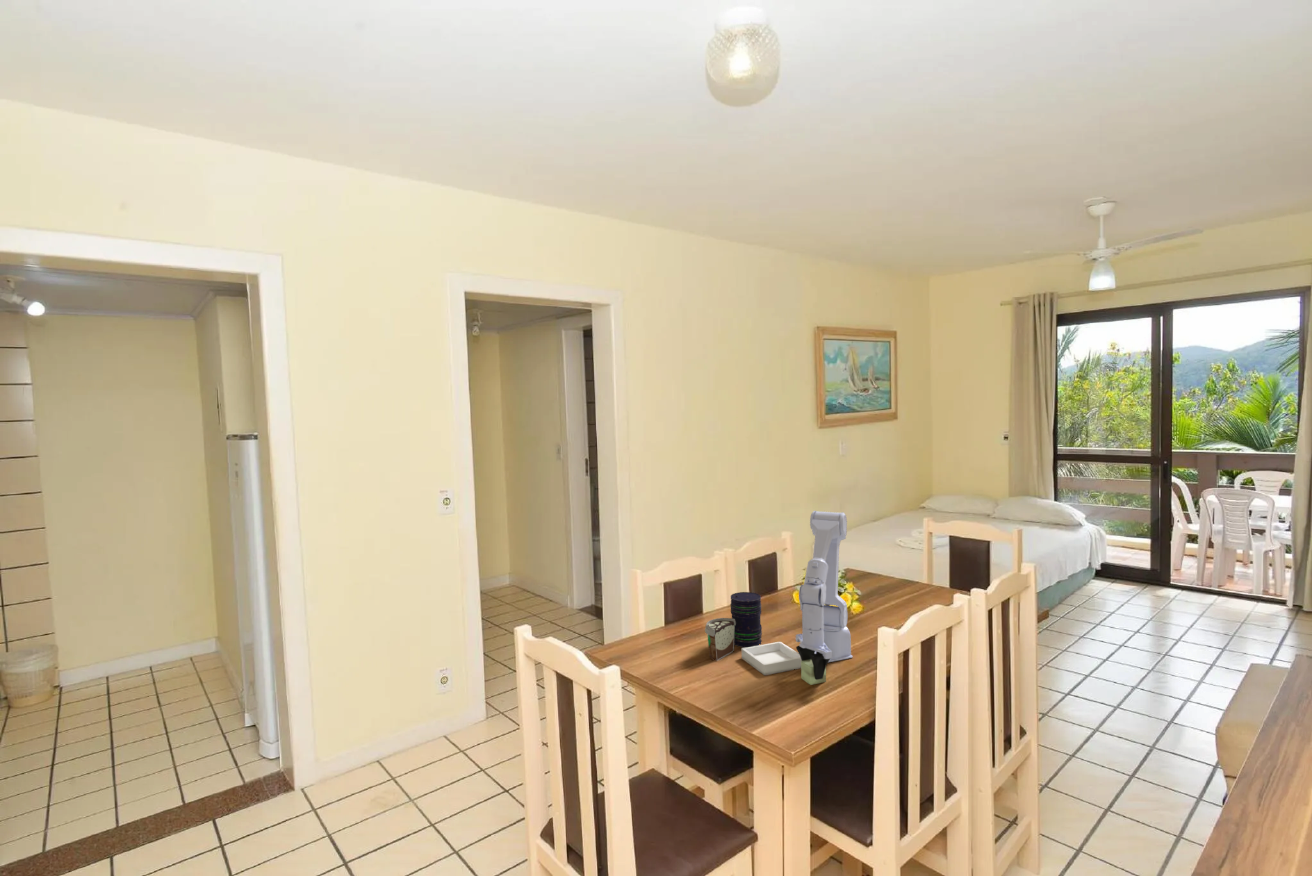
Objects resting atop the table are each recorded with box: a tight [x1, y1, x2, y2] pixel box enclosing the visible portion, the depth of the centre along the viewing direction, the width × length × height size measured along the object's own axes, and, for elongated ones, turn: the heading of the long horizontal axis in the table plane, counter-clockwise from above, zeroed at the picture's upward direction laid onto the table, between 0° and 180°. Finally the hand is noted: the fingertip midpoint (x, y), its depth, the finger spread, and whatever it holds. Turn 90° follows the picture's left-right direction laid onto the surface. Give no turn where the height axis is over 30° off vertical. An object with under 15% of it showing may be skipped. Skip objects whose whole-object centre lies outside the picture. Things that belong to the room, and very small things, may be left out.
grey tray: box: [741, 641, 802, 676], centre depth 193 cm, size 14×14×3 cm
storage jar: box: [730, 591, 763, 648], centre depth 209 cm, size 10×10×15 cm
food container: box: [704, 617, 736, 662], centre depth 200 cm, size 12×6×10 cm, turn 141°
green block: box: [800, 659, 827, 686], centre depth 180 cm, size 5×4×5 cm
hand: (813, 675), depth 180 cm, fingers closed on green block, 4 cm apart
